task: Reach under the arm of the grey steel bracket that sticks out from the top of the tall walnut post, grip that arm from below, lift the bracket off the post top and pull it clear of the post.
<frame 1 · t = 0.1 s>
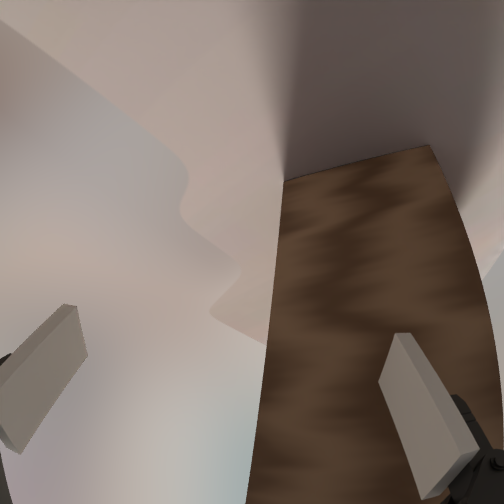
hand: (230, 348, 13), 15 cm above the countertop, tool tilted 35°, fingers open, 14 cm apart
post: (372, 214, 27), on the countertop
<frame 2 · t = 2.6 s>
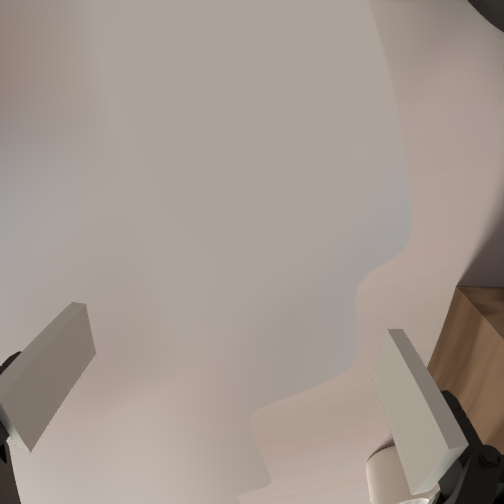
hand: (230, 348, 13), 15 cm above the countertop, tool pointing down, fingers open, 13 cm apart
post: (479, 334, 29), on the countertop
mug: (400, 456, 38), on the countertop
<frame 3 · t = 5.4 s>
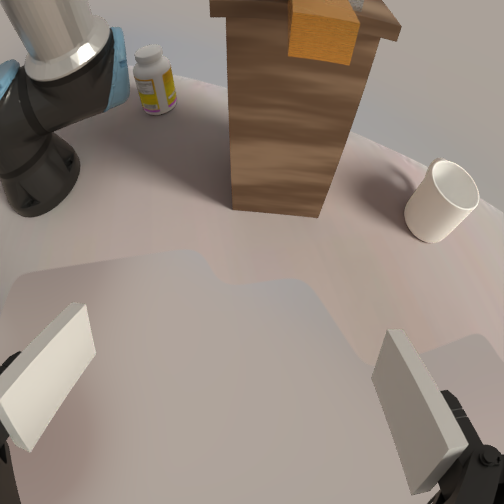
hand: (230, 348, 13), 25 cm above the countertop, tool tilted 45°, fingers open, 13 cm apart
supplement bottle: (160, 106, 55), on the countertop
post: (277, 179, 47), on the countertop
mug: (423, 212, 46), on the countertop
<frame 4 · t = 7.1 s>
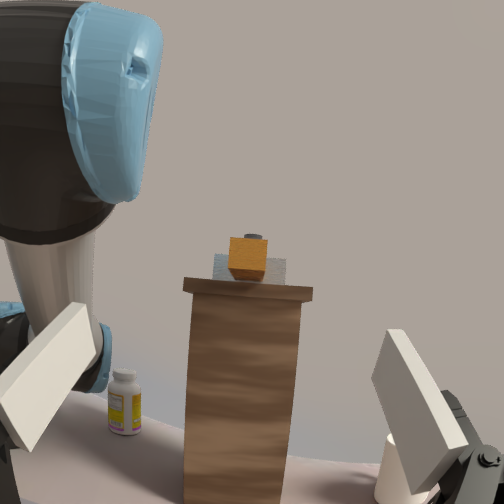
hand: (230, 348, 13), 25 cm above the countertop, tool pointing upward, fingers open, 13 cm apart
supplement bottle: (124, 430, 53), on the countertop
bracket: (249, 287, 41), point 30 cm above the countertop, touching post
post: (233, 491, 36), on the countertop
mug: (396, 493, 33), on the countertop
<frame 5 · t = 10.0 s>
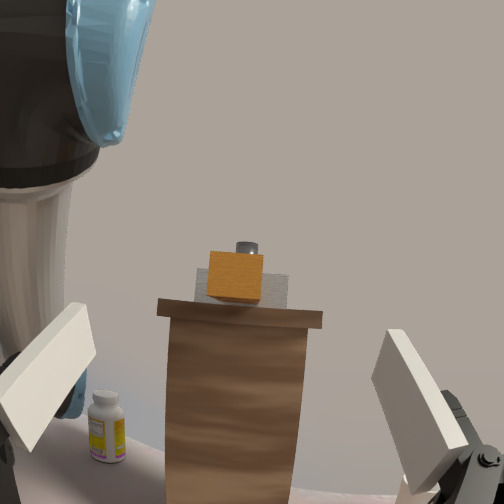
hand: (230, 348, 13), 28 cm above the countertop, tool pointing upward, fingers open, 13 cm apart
supplement bottle: (108, 456, 44), on the countertop
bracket: (242, 307, 33), point 30 cm above the countertop, touching post
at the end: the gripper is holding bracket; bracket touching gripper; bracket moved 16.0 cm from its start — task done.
